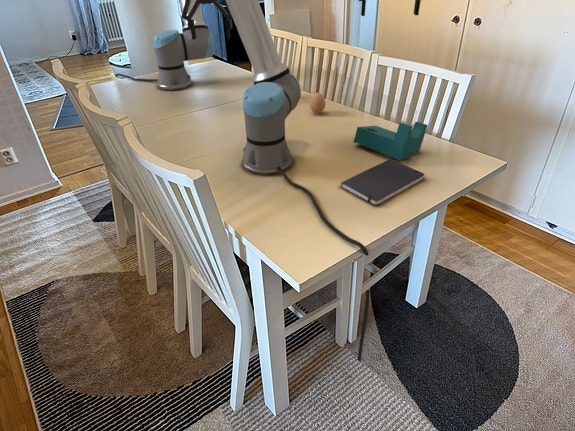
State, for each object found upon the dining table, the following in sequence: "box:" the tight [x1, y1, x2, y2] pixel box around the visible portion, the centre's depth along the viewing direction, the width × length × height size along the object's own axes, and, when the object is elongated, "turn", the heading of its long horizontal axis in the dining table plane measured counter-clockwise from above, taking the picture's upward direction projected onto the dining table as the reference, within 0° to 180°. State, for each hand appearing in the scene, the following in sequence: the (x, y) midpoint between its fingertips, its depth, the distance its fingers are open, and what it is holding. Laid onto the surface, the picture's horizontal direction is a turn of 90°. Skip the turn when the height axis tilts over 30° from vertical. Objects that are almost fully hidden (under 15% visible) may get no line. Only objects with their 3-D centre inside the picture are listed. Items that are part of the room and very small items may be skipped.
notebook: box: [340, 158, 425, 206], centre depth 114 cm, size 13×2×21 cm
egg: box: [309, 92, 326, 114], centre depth 156 cm, size 6×6×8 cm
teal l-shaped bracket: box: [353, 121, 428, 161], centre depth 129 cm, size 18×11×10 cm, turn 43°
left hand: (211, 39), depth 154 cm, fingers open, 13 cm apart
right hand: (389, 15), depth 105 cm, fingers open, 13 cm apart
